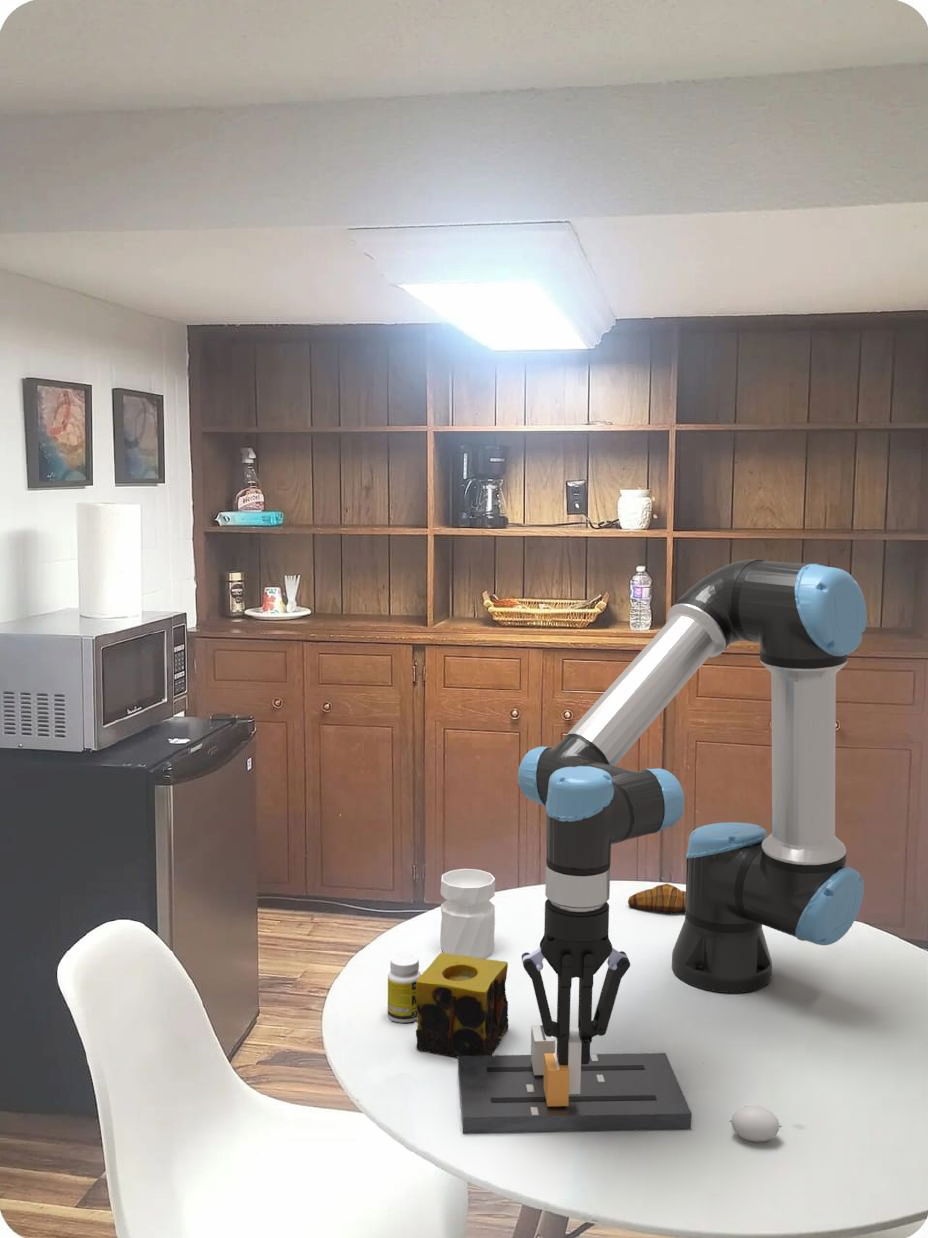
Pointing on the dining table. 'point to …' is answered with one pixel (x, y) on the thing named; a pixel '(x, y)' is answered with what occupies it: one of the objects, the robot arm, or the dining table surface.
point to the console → (572, 1095)
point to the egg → (755, 1123)
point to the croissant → (660, 899)
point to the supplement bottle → (403, 988)
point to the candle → (461, 1006)
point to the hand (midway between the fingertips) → (572, 1087)
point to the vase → (468, 913)
